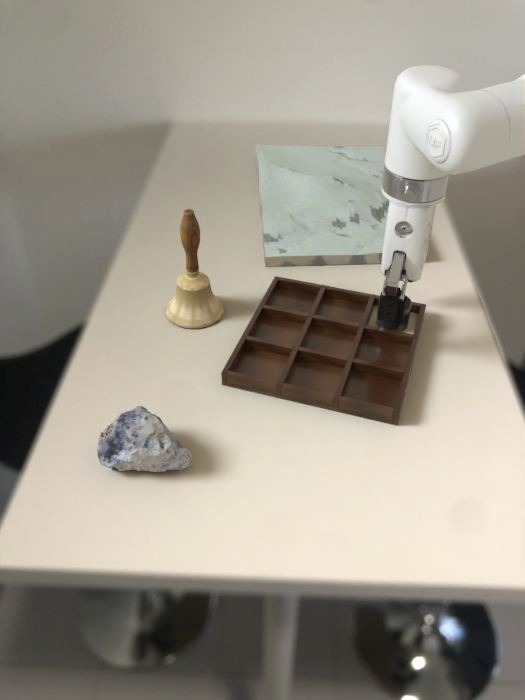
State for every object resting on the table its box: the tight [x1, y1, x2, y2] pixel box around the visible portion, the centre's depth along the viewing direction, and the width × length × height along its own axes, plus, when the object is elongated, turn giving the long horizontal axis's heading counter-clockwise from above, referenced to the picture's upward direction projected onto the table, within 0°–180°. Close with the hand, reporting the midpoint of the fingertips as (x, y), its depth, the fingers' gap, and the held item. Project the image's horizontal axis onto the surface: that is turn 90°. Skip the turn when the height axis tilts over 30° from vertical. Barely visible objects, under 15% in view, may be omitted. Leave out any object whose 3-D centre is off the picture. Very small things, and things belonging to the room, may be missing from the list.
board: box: [220, 275, 427, 426], centre depth 89 cm, size 22×22×2 cm
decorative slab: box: [255, 143, 390, 268], centre depth 118 cm, size 38×27×5 cm
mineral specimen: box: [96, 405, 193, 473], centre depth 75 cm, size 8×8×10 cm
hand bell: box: [165, 208, 225, 330], centre depth 91 cm, size 8×8×16 cm
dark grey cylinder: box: [376, 294, 413, 332], centre depth 91 cm, size 4×4×4 cm
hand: (396, 299), depth 90 cm, fingers open, 9 cm apart
